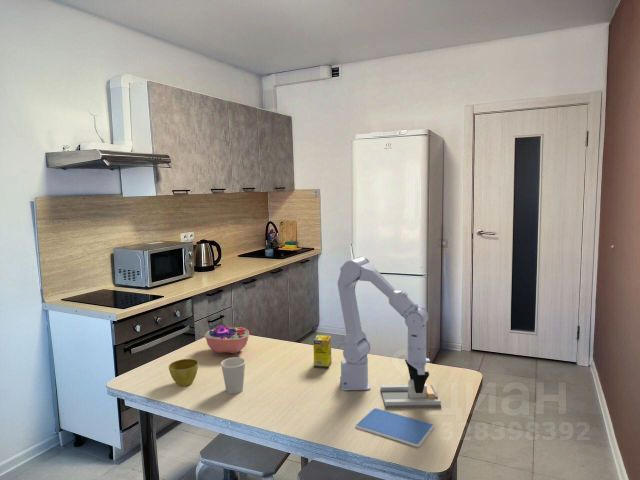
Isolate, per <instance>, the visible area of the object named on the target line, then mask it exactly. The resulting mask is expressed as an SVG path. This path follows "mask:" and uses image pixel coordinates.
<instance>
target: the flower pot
mask: <svg viewBox="0 0 640 480" xmlns="http://www.w3.org/2000/svg"><path fill="white" fill-rule="evenodd" d="M198 368H199V361H198V360H197V359H194V358H181V359H178V360H175V361H172V362H171V363H169V365H168V370H169V373H170V376H171V378H172V380H173V381H174V382H175V384H176V385H177V386H178V387H188V386H191V385H192V384H193V382H194V380H195V378H196V375H197V373H198V370H199V369H198Z"/></svg>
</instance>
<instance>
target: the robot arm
mask: <svg viewBox="0 0 640 480" xmlns="http://www.w3.org/2000/svg"><path fill="white" fill-rule="evenodd" d="M339 269H340V272H339V277H338V279H337V289H338V295H339V299H340V304H341V311H342V316H343V317H342V318H343V323H344V329H345V337H344V340H343V351H342V355H343V358H344V359H342V360H340V377H339V378H340V379H339V381H340V382H341V383H340V384H341V391H363V390H364V391H368V390H371V387H370V386H371V385H370V382H369V366H368V364H369V362H368V361H369V360H368V358H369V357H368V354H369V353H370V351H371V343H370V342H369V341H368V339H367V335H366V333H365V332H364V331H363V330H362V323H361V318H360V313H359V312H360V311H359V307H358V306H359V305H358V301H357V296H356V290H355V285H356V284H358V282H359V281H361V282H370V283H371V284H372V285H373V286H374V287H375V288H377V289H378V290H379V291H381V293H382V294H383V295H385V297H387V298H388V304H389V305H390V306H391V307H392V309H394V310H395V311H396V312H397V313H398V314H399V315H400V316H401V317H402V318H403V319H404V324H405V326H406V327H407V358H406V359H405V360H404V362H405V364H406V367H407V368H408V369H407V370H408V373H409V380H413V381H414V388H415V392H416V393H423V390H424V385H425V383H427V382H426V381H427V380H428V378H429V377H430V373H429V372H430V371H426V369H425V368H426V365H427V363H430V361H431V360H430V358H427V322H428V320H429V313H428V311H427V310H426V309H425V307H422V306H419V304H418V303H415V302H414V301H413V300H412V299H411V298H409V296H408V295H409V294H408V293H407V292H406V291H405V292H404V291H402V290H396V289H395V287H393V286H392V285H391V283H390V282H389V281H388V279H386V278H385V277H384V276H383V275H382V274H381V272H380V271H378V269H377V268H376V266H375V265H374V263H372V262H370V260H369V259H368V258H367V257H366V256H359V257H357V258H354V259H351V260H346V262H344V263H343V264H342V266H341V267H339Z"/></svg>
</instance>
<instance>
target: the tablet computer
mask: <svg viewBox="0 0 640 480" xmlns="http://www.w3.org/2000/svg"><path fill="white" fill-rule="evenodd" d="M354 428H355V429H357V430H361V431H365V432H368V433H371V434H373V435H377V436H380V437H383V438H386V439H390V440H393V441H396V442H400V443H403V444H406V445H408V446H412V447H414V448H420V447H421V446H422V445H423V443H424V442H425V441H426V440H427V438H428V437H429V435H430V434H431V433H432V431H433V430H434V429H435V425H434V423H430V422H426V421H423V420H419V419H415V418H413V417H408V416H404V415H401V414H398V413H394V412H390V411H388V410H387V411H386V410H383V409H380V408H376V407H375V408H372V409H371V410H370V411H369V412H368V413H367V414H366V415H365V416H363V417H362V418H361V419H360V420H359V421H358V422H357V423H355V426H354Z"/></svg>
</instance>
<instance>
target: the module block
mask: <svg viewBox="0 0 640 480" xmlns="http://www.w3.org/2000/svg"><path fill="white" fill-rule="evenodd" d="M426 383H427V382H425V385H424V390H423V393H416V392H415V388H414V381H413V380H410V379H408V380H407V385H408V394H409V396H410V399H427V385H426Z"/></svg>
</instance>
